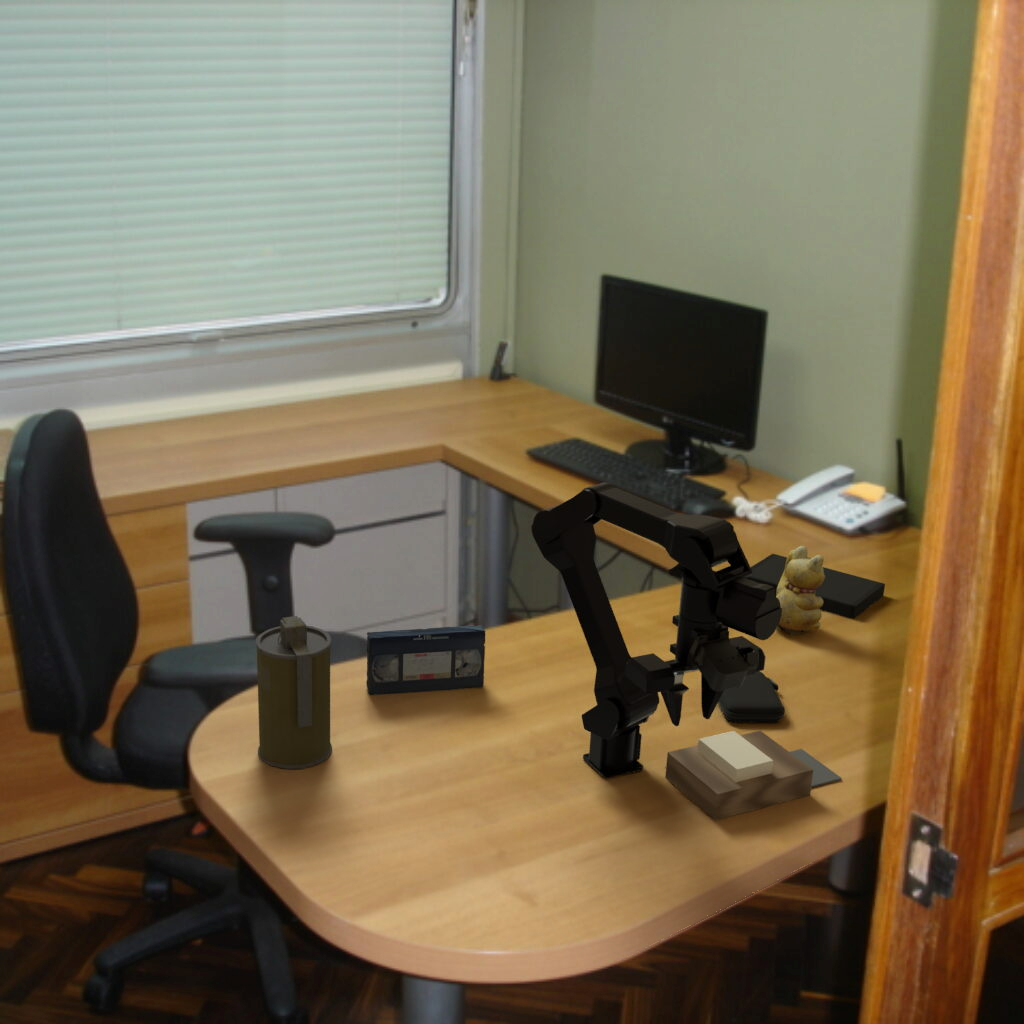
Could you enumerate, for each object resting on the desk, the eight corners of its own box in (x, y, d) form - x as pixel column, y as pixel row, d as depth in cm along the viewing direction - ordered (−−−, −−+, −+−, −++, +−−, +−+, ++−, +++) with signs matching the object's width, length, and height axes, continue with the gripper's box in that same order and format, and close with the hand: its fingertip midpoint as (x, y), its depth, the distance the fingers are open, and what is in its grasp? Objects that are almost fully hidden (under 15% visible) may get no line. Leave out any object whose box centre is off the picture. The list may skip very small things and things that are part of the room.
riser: (714, 820, 183) (717, 794, 182) (665, 777, 193) (667, 752, 192) (810, 795, 190) (813, 769, 189) (757, 754, 200) (760, 730, 199)
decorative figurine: (828, 634, 241) (839, 554, 236) (795, 644, 237) (805, 563, 232) (789, 614, 249) (798, 537, 244) (756, 623, 244) (764, 545, 239)
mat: (804, 789, 191) (804, 787, 191) (764, 759, 199) (765, 757, 199) (841, 779, 194) (841, 777, 194) (801, 750, 202) (801, 748, 202)
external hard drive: (853, 621, 248) (855, 606, 247) (738, 588, 261) (739, 573, 260) (883, 597, 259) (885, 583, 258) (771, 567, 272) (772, 553, 271)
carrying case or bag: (793, 727, 209) (770, 683, 223) (795, 709, 208) (772, 666, 222) (724, 726, 208) (705, 683, 222) (726, 708, 207) (707, 666, 221)
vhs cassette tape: (367, 696, 212) (368, 637, 209) (365, 687, 215) (366, 629, 212) (484, 689, 216) (486, 632, 213) (481, 681, 219) (483, 624, 216)
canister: (250, 739, 198) (247, 612, 191) (320, 728, 202) (319, 603, 195) (268, 776, 189) (265, 644, 182) (341, 764, 193) (341, 634, 186)
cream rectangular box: (735, 782, 185) (737, 769, 184) (697, 751, 192) (698, 738, 191) (771, 773, 187) (773, 760, 187) (732, 743, 195) (733, 730, 194)
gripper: (675, 651, 167) (665, 763, 173) (797, 627, 176) (784, 735, 181) (627, 616, 177) (619, 724, 182) (745, 595, 185) (734, 699, 190)
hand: (690, 721), depth 183 cm, fingers open, 5 cm apart
